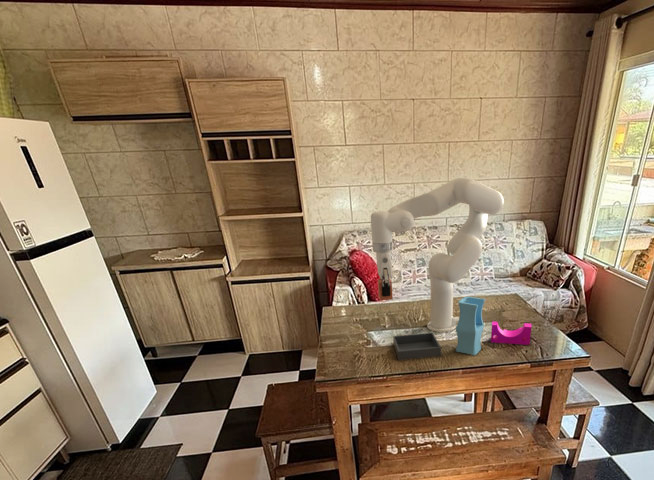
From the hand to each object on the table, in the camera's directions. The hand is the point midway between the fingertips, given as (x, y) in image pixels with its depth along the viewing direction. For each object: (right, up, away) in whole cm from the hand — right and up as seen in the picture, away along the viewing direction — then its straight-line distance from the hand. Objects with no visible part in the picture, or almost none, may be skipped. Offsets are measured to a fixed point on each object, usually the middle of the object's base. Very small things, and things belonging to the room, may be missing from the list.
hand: (385, 293), depth 162 cm
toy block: (+50, -19, +3) cm, 54 cm away
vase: (+33, -23, -3) cm, 40 cm away
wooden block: (0, -2, +1) cm, 2 cm away
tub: (+12, -23, -2) cm, 26 cm away
